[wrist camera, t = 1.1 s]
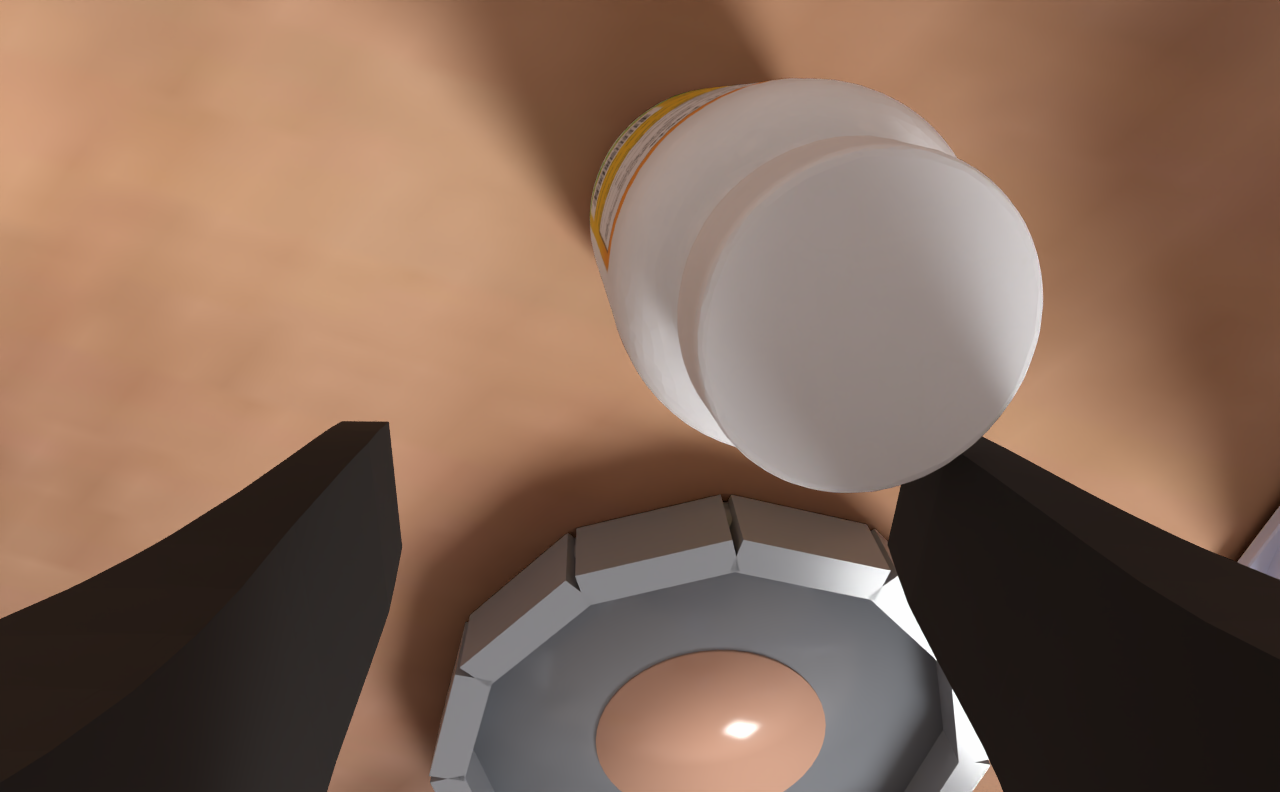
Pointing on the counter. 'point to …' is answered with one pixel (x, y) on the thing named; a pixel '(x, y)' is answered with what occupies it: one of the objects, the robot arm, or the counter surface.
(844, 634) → the round tray
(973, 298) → the supplement bottle
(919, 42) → the counter surface
